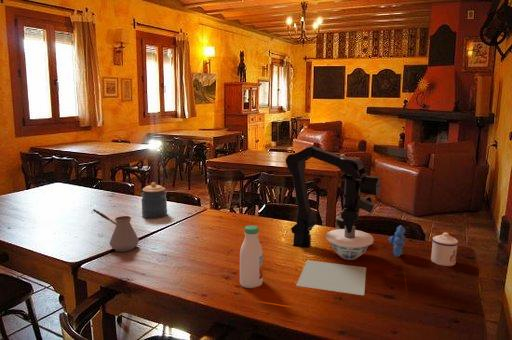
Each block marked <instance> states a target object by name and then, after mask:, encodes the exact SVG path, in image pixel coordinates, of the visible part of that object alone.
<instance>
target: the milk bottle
mask: <svg viewBox="0 0 512 340" xmlns="http://www.w3.org/2000/svg"><path fill="white" fill-rule="evenodd" d="M259 232H260V231H259V227H258V226H257V225H247V226H245V227H244V240H243V242H242V244H241V247H240V251H239V285H241V287H243V288H245V289H254V288H258V287H260V286H261V285H263V281H264V279H263V274H264V273H263V267H264V265H263V264H264V263H263V262H264V254H263V253H264V251H263V247H262V245H261V241H260V240H259Z"/></svg>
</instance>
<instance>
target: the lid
mask: <svg viewBox="0 0 512 340" xmlns="http://www.w3.org/2000/svg"><path fill="white" fill-rule="evenodd" d="M325 238H326V240H327V241H328V242H329V243H330V244H331V243H333V244H335V245H339V246H343V247H353V248H358V247H366V246H368V247H369V246H371V245H372V244H373V243H374V236H372V235H371V234H370V233H367V232H365V231H362V230H358V229H356V225H355V226H353V227H352V231H351V233H348V231H347V229H346V226H345V229H337V228H336V229H333V230H330V231H328V232H327V233H326V235H325Z"/></svg>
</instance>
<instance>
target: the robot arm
mask: <svg viewBox="0 0 512 340" xmlns="http://www.w3.org/2000/svg"><path fill="white" fill-rule="evenodd" d="M312 158H314V159H316V160H318V161H321V162H324V163H327V164H330V165H331V166H335V167H337V168H338V169H339V170H340V171H341V172H342V173H343V174H342V175H341V176H339V179H340V180H344V194H343V206H342V207H343V209H342V210H341V212H340V216H341V218H342V219H343V221H344V224H345V226H346V229H347V231H348V233H351V231H352V227H353V223H354V221H355V220H356V221H357V220H359V215H360V209H361V210H363V211H366V212H367V213H369V214H371V213H372V211H373V210H374V209H375V202H374V201H373V200H372V197H370V196H367V197H366V198H365V197H361V193H362V194H364V195H372V196H377V197H378V196H379V195H380V194H381V192H382V182H381V180H380V179H381V178H380V176H370V175H369V173H368V171H367V170H366V169H365V167H364V163H363V161H362V160H361V158H359V157H358V158H357V157H352V156H342V155H340V154H336V153H334V152H330V151H328V150H326V149H323V148H320V147H317V146H316V145H311V146H307V147H305V148H304V149H302V150H300V151H298V152H296V153H291V154H288V155H287V156H286V158H285V163H286V167H287V171H288V172H289V173H290V174H291V176H292V180H293V188H294V192H295V193H294V194H295V197H296V203H297V213H296V224H294V225H293V226H292V227H291V228H290V231H291V233H292V234H293V245H292V247H295V248H298V247H299V248H306V249H308V248H309V247H310V246H311V243H312V235H311V231H312V229H313V228H314V227H315V226H316V225H317V221H318V218H317V211H316V210H312V208H311V207H310V206H311V205H310V201H309V196H308V190H307V184H306V178H305V170H306V166H307V162H306V161H308V160H310V159H312Z"/></svg>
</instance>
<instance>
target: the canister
mask: <svg viewBox="0 0 512 340" xmlns="http://www.w3.org/2000/svg"><path fill="white" fill-rule="evenodd" d="M165 190H166V187H163V186H162V185H160V184H157V183H156V182H155V181H153V182H151V183H150V185H147V186H144V187H143V188H142V190H141V191H142V192H141V194H140V195H141V214H142V218H144V219H162V218H164V217H166V216H167V215H168V203H167V202H168V201H167V199H168V198H167V197H166V196H167V191H165Z"/></svg>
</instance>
